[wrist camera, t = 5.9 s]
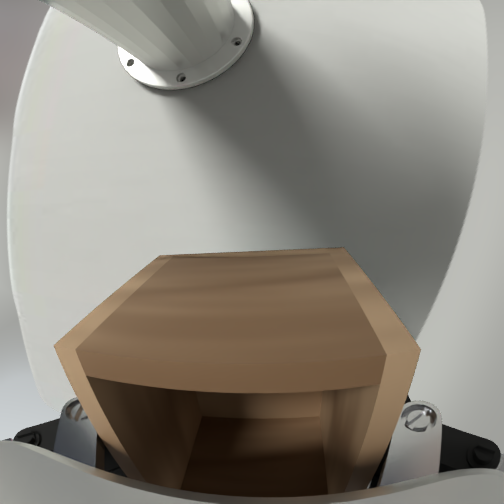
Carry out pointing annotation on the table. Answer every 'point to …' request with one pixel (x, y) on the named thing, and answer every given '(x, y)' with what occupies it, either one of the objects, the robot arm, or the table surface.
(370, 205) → the table surface
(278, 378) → the small crate
